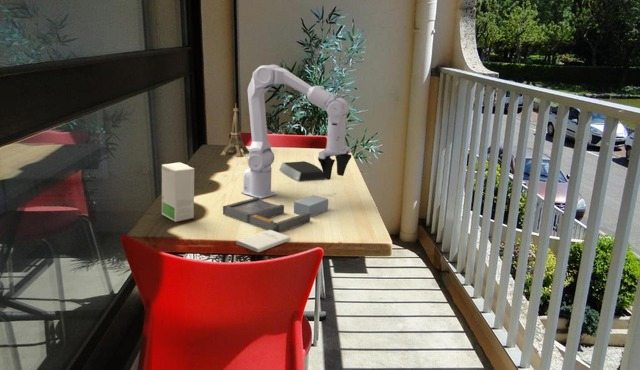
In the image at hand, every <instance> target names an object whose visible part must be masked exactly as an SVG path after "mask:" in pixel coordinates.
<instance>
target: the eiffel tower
mask: <svg viewBox="0 0 640 370" xmlns="http://www.w3.org/2000/svg"><path fill="white" fill-rule="evenodd" d="M232 109H233V110H232V111H233V120H232V128H231V132H230V139H229V141H228V142H227V145H226V146H225V147H224V149H223V150H222V152H221V153H220V154H219V156H227V155H229V153H235V152H236V155H235V157H236V158H242V157H244V154H245V155H249V149H248V148H247V146H246V145H245V144H244V141H243V139H242V136H241V134H242V132H241V131H240V124H239V123H240V122H239V114H238V112H239V111H240V110H239V108H237V104H235V108H232ZM240 148H241V149H240ZM241 150H242V151H241Z"/></svg>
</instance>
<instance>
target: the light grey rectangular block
mask: <svg viewBox="0 0 640 370" xmlns="http://www.w3.org/2000/svg"><path fill="white" fill-rule="evenodd" d="M293 203H294V204H293V214H295V213H296V214H295V215H301V214H304V213H310V218H311V217H313V216H317V215H319V214H321V213H324V212H327V211H329V198H326V197H322V196H319V195H315V194H312V195H310V196H307V197H304V198H301V199H298V200H295V201H294V202H293Z"/></svg>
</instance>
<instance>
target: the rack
mask: <svg viewBox="0 0 640 370" xmlns="http://www.w3.org/2000/svg"><path fill="white" fill-rule="evenodd" d="M284 213H285V204H275V203H271V202H268V201H264V200H262V199H260V198H259V197H252V198H250V199H245V200H241V201H237V202H234V203H230V204H226V205H224V206H222V215H224V214H225V215H224V216H227V217H229V218H233V219H235V218H236V220H238V219H239V220H238V221H241V222H244V223H247V224H250V225H252V226H255V227H258V228H260V227H261V229H263V230H265V231H267V230H273V231H275V232H278V233H282V232H284V231H287V230H289V229H292V228H295V227H299V226H302V225H304V224H306V223H309V222H311V217H310V213H304V214H301V215H299V214H297V215H296V216H293V217H290V218H289V217H288V218H287V219H284V220H281V221H277V222H275V221H274V220H273V219H270V218H273V217H276V216H279V215H281V214H284ZM272 216H273V217H272ZM269 217H270V218H269Z"/></svg>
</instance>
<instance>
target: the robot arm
mask: <svg viewBox="0 0 640 370" xmlns="http://www.w3.org/2000/svg"><path fill="white" fill-rule="evenodd" d="M275 85H286V86H288V87H290V88H291V89H294V90H296V91H297V92H300V93H302V94H303V95H305V96H306V98H307V101H308V102H310V103H311V104H313V105H314V106H316V107H318V108H319V109H321V110H323V111H324V112H325V111H326V113H327V115H328V117H327V118H328V120H327V135H326V148H325V149H324V150H320V151H319V152H318V156H317V160H318V161H319V164H320V167H321V170H322V172H323V175H324V179H325V180H328V181H329V180H331V177H332V174H333V173H332V172H333V167H334V164H335V162H336V175H337V176H341V177H343V176H344V174H345V172H346V168H347V166H348V164H349V161H350V160H351V159H352V154H351V151H352V147H350V146H346V145H345V144H346V143H345V142H346V140H345V139H346V125H347V121H346V120H347V113H348V111H349V103H348V102H347V100H346V99H345V98H344V97H342V96H341V97H338V95H337V94H335V93H334V94H333V93H331V92H329V91H328V90H326V89H325V86H323V85H320V86H319V85H313V86H311V85H310V84H309V83H307V82H306V81H304V80H303V79H301V78H299V77H298V76H297V75H295V74H294V73H292V72H290V71H289V70H287V69H286V68H284V67H280V65H277V64H269V65H263V64H262V65H259V66H258V67H257V68H256V69H255V70H254V71H253V72H252V77H251V80H250V82H249V83H248V87H247V99H248V100H247V101H248V111H249V122H250V123H249V124H250V134H251V144H250V146H249V149H248V150H249V154H248V157H247V160H246V161H247V166H248V167H247V168H246V169H245V170H244V173H243V186H242V187H243V191H241V194H244V195H246V196H249V197H252V198H256V197H259V198H260V200H262V199H264V198H268V197H272V196H275V195H277V192H275V191H272V165H273V163H275V154H274V152H273V150H272V144H271V143H270V142H269V140H268V127H267V117H266V116H267V115H266V102H265V95H266V94H265V93H267V91H269V89H271V87H273V86H275ZM331 157H335V159H333V158H331Z"/></svg>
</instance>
